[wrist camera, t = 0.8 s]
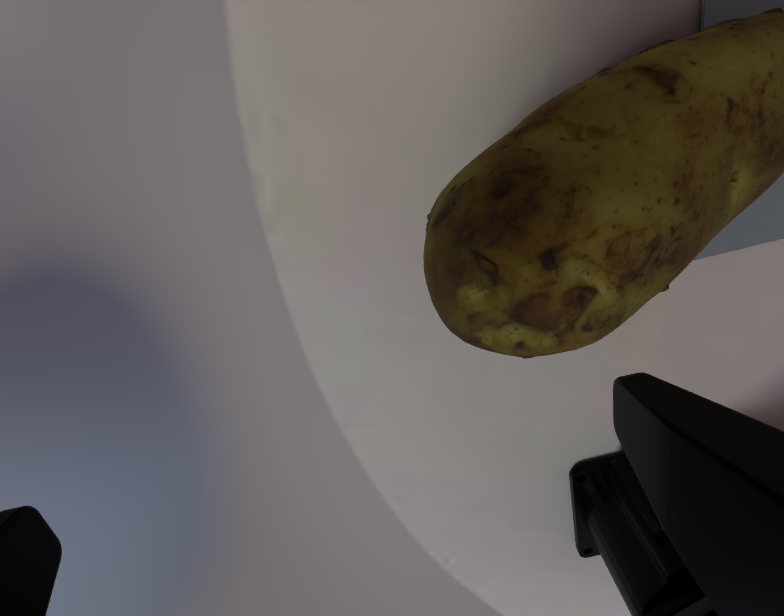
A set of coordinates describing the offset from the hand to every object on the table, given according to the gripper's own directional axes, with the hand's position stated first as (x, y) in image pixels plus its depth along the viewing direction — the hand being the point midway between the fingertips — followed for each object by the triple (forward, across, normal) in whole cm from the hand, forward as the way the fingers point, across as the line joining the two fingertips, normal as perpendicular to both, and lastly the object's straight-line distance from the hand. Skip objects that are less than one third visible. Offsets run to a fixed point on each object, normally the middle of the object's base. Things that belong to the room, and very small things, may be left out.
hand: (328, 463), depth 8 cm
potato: (+13, -9, 0) cm, 16 cm away
